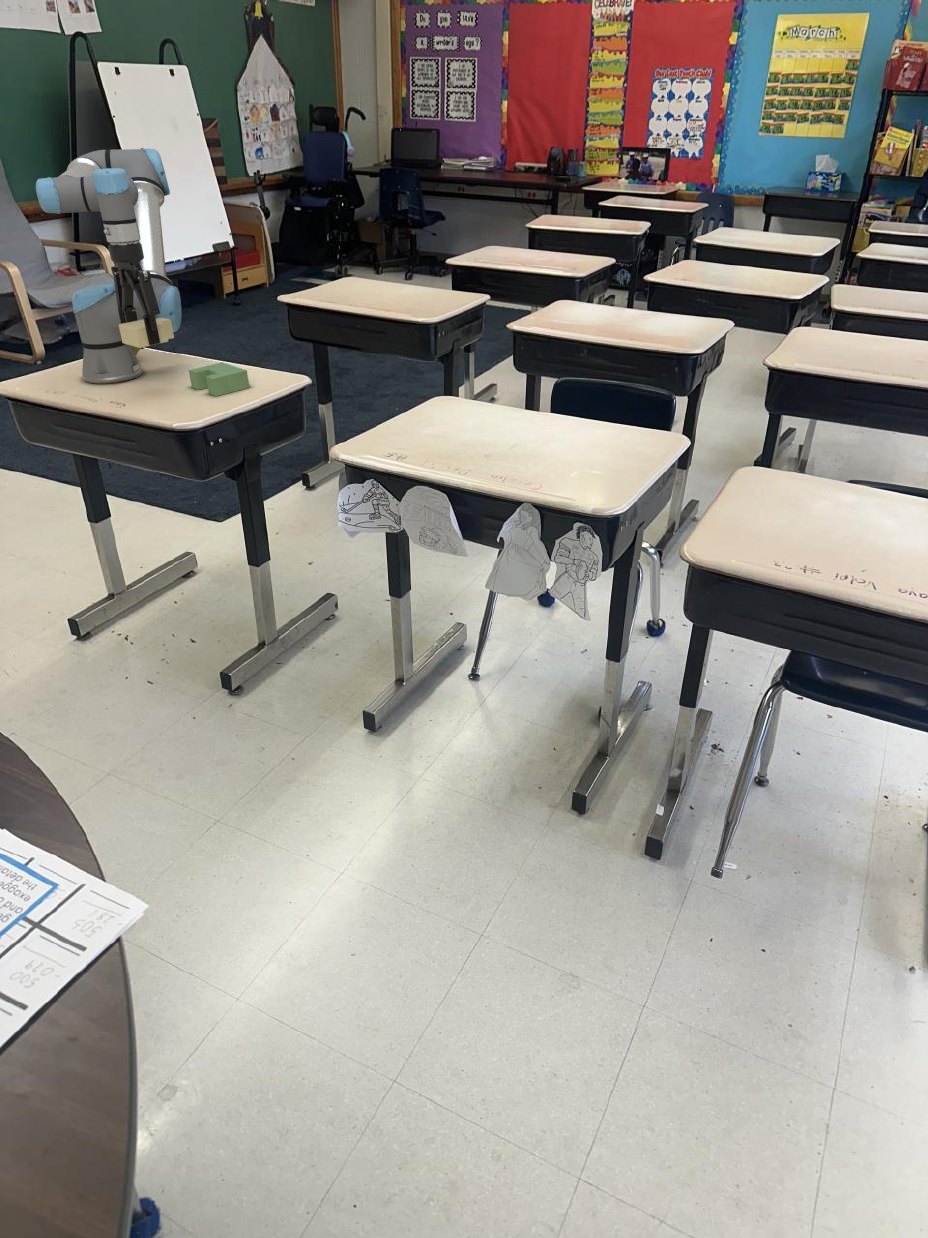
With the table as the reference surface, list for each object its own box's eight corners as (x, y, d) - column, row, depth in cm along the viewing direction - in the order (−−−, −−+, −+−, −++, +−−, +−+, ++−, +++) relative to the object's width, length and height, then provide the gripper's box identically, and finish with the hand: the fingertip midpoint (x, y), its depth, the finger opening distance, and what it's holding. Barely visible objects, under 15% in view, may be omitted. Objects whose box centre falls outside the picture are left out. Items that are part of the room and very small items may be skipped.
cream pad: (122, 342, 213) (118, 324, 211) (161, 334, 220) (157, 316, 218) (139, 347, 209) (135, 328, 207) (178, 339, 216) (175, 320, 214)
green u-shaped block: (191, 387, 225) (188, 369, 222) (224, 378, 231) (221, 361, 228) (216, 396, 217) (213, 378, 215) (249, 387, 223) (246, 370, 221)
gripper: (87, 240, 205) (110, 338, 217) (133, 248, 193) (154, 350, 205) (116, 236, 210) (136, 332, 222) (162, 244, 198) (181, 344, 210)
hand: (145, 341), depth 214 cm, fingers closed on cream pad, 8 cm apart
